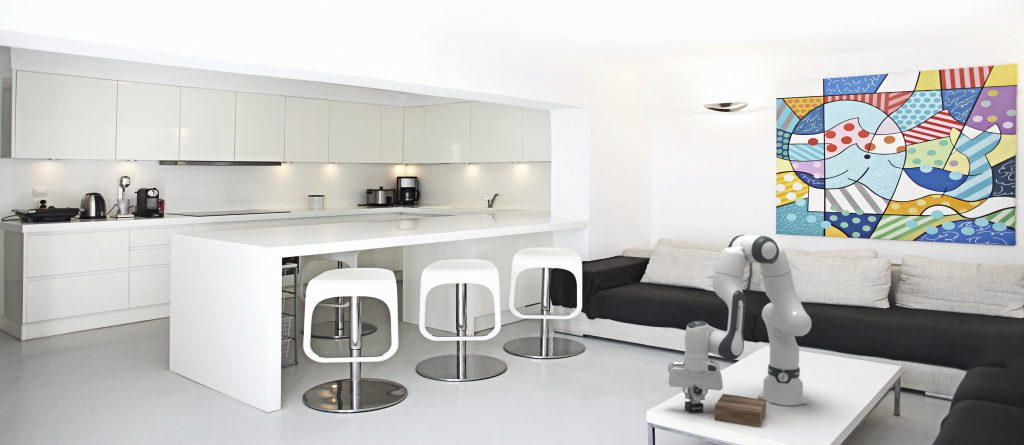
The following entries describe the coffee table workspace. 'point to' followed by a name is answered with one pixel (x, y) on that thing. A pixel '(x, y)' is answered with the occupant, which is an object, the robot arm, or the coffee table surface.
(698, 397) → the watch
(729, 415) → the walnut box
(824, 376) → the coffee table surface
